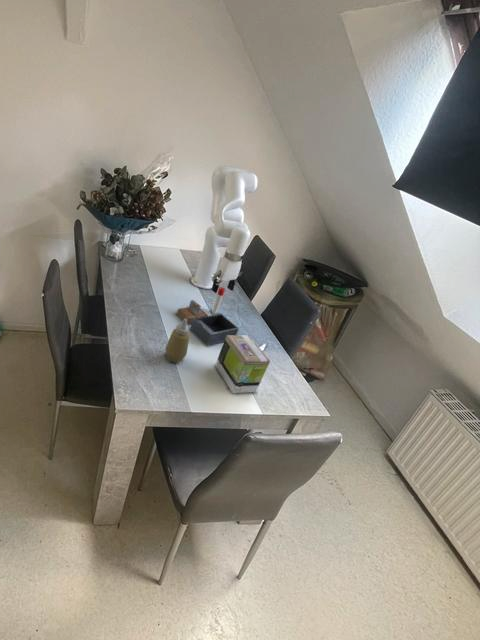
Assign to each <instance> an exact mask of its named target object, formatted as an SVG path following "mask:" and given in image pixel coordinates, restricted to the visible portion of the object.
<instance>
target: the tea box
mask: <svg viewBox="0 0 480 640" xmlns="http://www.w3.org/2000/svg"><path fill="white" fill-rule="evenodd" d="M259 347H260V346H259V345H258V344H257V342H255V341H254V339H253V338H252V336H250V334H249V335H247V334H244V335H243V334H238V335H237V334H236V335H227V336H226V338H225V341H224V342H223V343H222V347H221V349H220V352H219V354H218V357H217V360H216V362H215V367H216V369H217V370H218V372H219V373H220V376H221V377H222V378H223V380H224V382H225V383H226V385H227V387H228V388H229V390H230V392H231V393H233V394H241V393H244V394H245V393H246V394H247V393H256V392H257V391H258V388H259V386H260V384H261V382H262V380H263V377H264V376H265V374H266V371H267V369H268V367H269V365H270V362H271V360H270V358H269V357H268V356H267V354H265V352H264V351H263V352H262V350H261V349H260V348H259Z"/></svg>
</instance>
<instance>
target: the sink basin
mask: <svg viewBox="0 0 480 640" xmlns="http://www.w3.org/2000/svg"><path fill="white" fill-rule="evenodd" d="M189 331H190V332H192V333H193V334H194V335H195V336H196V337H197V338H198V339H199V340H200V341H201V342H202V343H203V344H204V345H205V346H206V347H207V346H212V345H216V344H219V343H224V341H225V338H226V336H227V335H237V334H238V331H239V327H238V326H237V325H236V324H235V323H233V322H232V321H231V320H229V319H228V318H227V317H226V316H225V315H224V314H222V313H221V312H219V313H216V314H214V313H213V314H211V315H209V314H208V316H204V317H199V318H194V319H193V321H192V323H191V325H190V328H189Z"/></svg>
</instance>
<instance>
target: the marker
mask: <svg viewBox="0 0 480 640" xmlns="http://www.w3.org/2000/svg"><path fill="white" fill-rule="evenodd" d="M225 291H226V288H225V287H222V286H219V288H218V291H217V293H216V297H215V301H214V303H213V306H212V310H211V313H212V314H213V315H214V314H218V310H219V308H220V306H221V301H222V299H223V296H224V294H225Z"/></svg>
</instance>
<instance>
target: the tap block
mask: <svg viewBox="0 0 480 640" xmlns="http://www.w3.org/2000/svg"><path fill="white" fill-rule="evenodd" d="M188 308H189V305H186V307H181V308H177V312H176V315H177V316H178V317H179V318H180V319H181V320H182V321H183V320H184V319H187V325H190V324H192V321H193V319H194V318H199V317H204V316H209V314H208V313H207V312H205V311H204V310H203V309H202V307H200V311H199V314H198V315H195V314H194V313H193V312H191V311H190V310H189V309H188Z"/></svg>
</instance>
